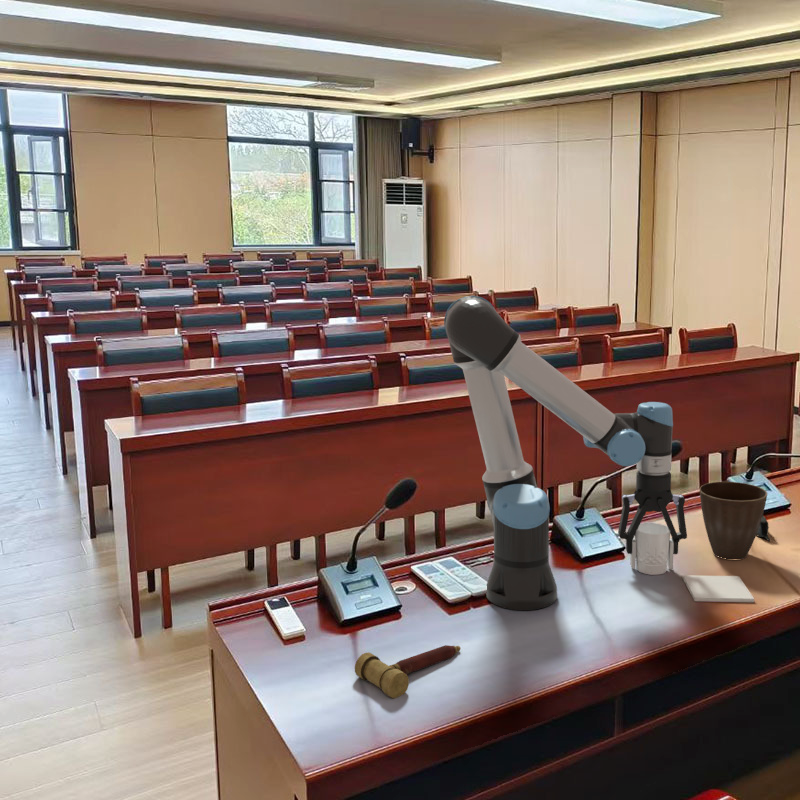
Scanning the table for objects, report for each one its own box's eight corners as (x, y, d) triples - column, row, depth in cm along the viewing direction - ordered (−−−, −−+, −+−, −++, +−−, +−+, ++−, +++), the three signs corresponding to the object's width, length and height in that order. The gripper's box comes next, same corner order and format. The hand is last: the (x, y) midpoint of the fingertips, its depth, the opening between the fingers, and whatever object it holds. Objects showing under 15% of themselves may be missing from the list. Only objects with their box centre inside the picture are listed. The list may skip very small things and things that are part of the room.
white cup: (665, 563, 200) (666, 522, 198) (672, 576, 192) (673, 534, 190) (630, 563, 201) (631, 522, 199) (636, 576, 193) (637, 534, 191)
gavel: (442, 627, 164) (478, 645, 157) (441, 649, 165) (477, 669, 157) (354, 655, 151) (388, 677, 144) (353, 680, 152) (388, 702, 144)
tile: (694, 601, 179) (694, 597, 179) (682, 578, 191) (682, 575, 190) (754, 602, 178) (754, 598, 177) (738, 579, 189) (738, 576, 189)
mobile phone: (742, 505, 225) (761, 522, 211) (753, 505, 225) (774, 522, 210) (741, 523, 226) (760, 541, 212) (753, 523, 226) (773, 541, 211)
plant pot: (777, 562, 198) (781, 496, 195) (719, 569, 195) (722, 502, 192) (739, 541, 212) (742, 479, 209) (685, 547, 209) (687, 484, 206)
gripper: (609, 475, 189) (607, 572, 194) (704, 475, 187) (701, 573, 191) (605, 466, 197) (604, 560, 201) (697, 466, 194) (693, 561, 199)
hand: (651, 566), depth 196 cm, fingers closed on white cup, 8 cm apart
